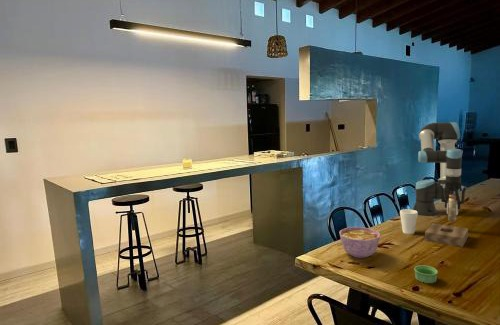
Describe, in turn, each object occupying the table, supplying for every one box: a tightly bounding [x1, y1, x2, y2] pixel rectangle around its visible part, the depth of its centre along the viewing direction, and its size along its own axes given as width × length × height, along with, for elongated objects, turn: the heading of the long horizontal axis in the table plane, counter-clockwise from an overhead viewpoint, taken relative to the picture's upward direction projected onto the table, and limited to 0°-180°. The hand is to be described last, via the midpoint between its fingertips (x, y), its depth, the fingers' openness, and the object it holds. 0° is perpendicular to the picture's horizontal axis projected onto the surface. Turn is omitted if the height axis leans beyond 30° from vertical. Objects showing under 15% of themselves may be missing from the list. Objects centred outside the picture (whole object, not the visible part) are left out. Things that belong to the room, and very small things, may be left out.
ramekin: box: [413, 264, 439, 284], centre depth 142 cm, size 9×9×4 cm
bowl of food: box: [339, 226, 381, 259], centre depth 170 cm, size 20×20×12 cm
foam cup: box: [399, 208, 418, 235], centre depth 198 cm, size 10×9×13 cm
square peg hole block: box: [424, 222, 469, 248], centre depth 186 cm, size 18×18×5 cm
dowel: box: [447, 194, 457, 223], centre depth 196 cm, size 4×4×16 cm
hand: (452, 213), depth 197 cm, fingers closed on dowel, 4 cm apart
